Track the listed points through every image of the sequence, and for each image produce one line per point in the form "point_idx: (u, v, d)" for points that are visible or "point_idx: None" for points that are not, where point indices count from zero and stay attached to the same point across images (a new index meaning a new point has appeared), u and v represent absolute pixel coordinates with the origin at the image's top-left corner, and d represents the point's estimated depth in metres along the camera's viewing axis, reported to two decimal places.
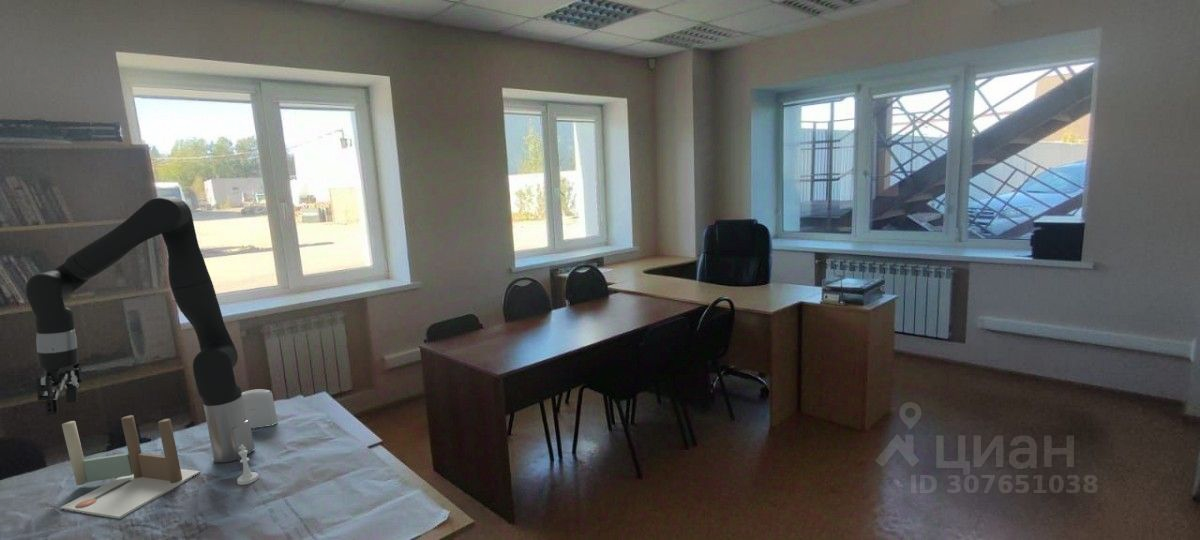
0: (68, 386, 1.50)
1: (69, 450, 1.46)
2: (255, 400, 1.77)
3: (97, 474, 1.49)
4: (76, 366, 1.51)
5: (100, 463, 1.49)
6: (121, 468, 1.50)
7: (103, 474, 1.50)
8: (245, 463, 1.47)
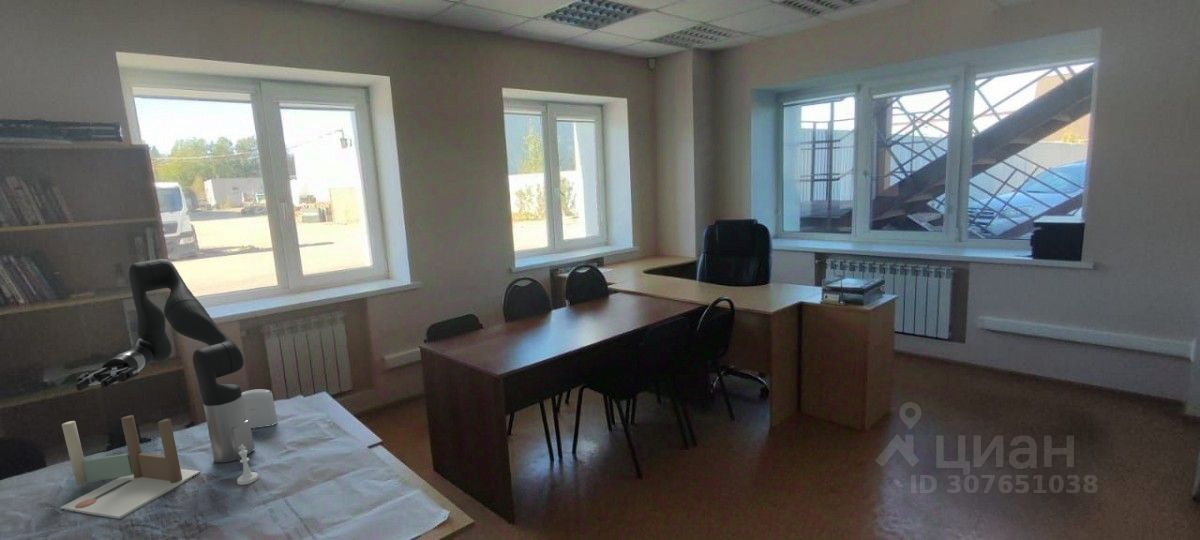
0: None
1: (69, 450, 1.46)
2: (255, 400, 1.77)
3: (97, 474, 1.49)
4: None
5: (100, 463, 1.49)
6: (121, 468, 1.50)
7: (103, 474, 1.50)
8: (245, 463, 1.47)
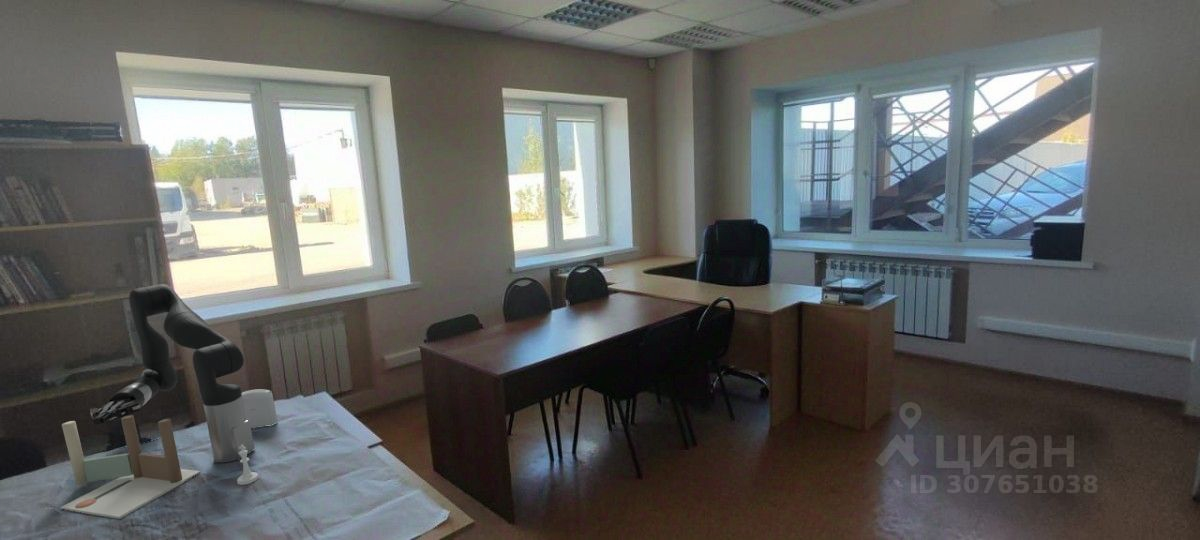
0: None
1: (69, 450, 1.46)
2: (255, 400, 1.77)
3: (97, 474, 1.49)
4: None
5: (100, 463, 1.49)
6: (121, 468, 1.50)
7: (103, 474, 1.50)
8: (245, 463, 1.47)
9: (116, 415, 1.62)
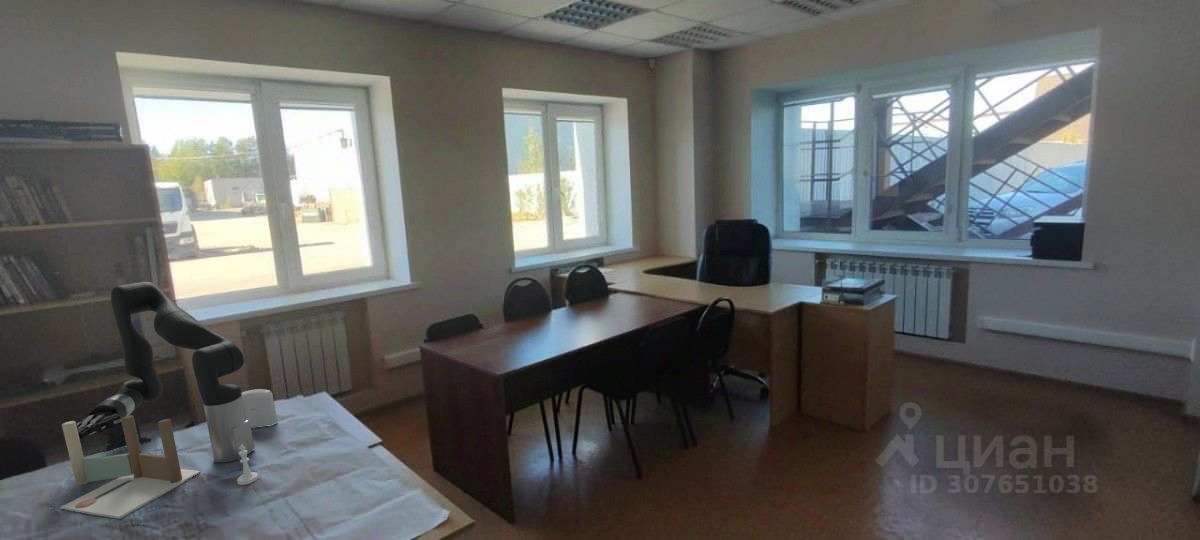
0: None
1: (69, 450, 1.46)
2: (255, 400, 1.77)
3: (97, 474, 1.49)
4: None
5: (100, 463, 1.49)
6: (121, 468, 1.50)
7: (103, 474, 1.50)
8: (245, 463, 1.47)
9: (96, 430, 1.53)
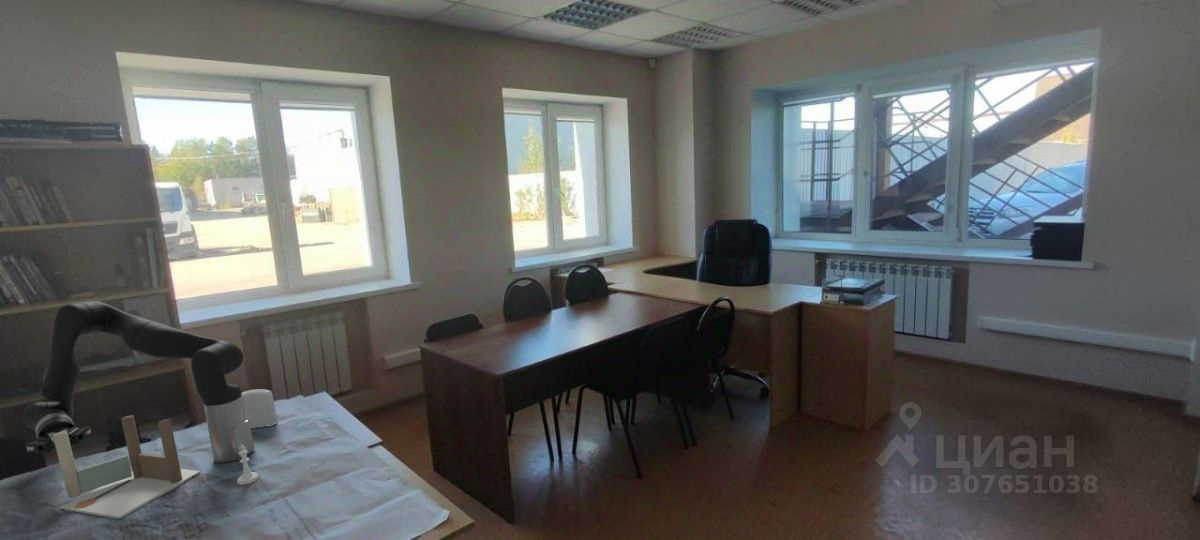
0: None
1: (64, 461, 1.40)
2: (255, 400, 1.77)
3: (93, 482, 1.45)
4: None
5: (97, 470, 1.45)
6: (121, 471, 1.49)
7: (100, 481, 1.46)
8: (245, 463, 1.47)
9: (74, 441, 1.46)
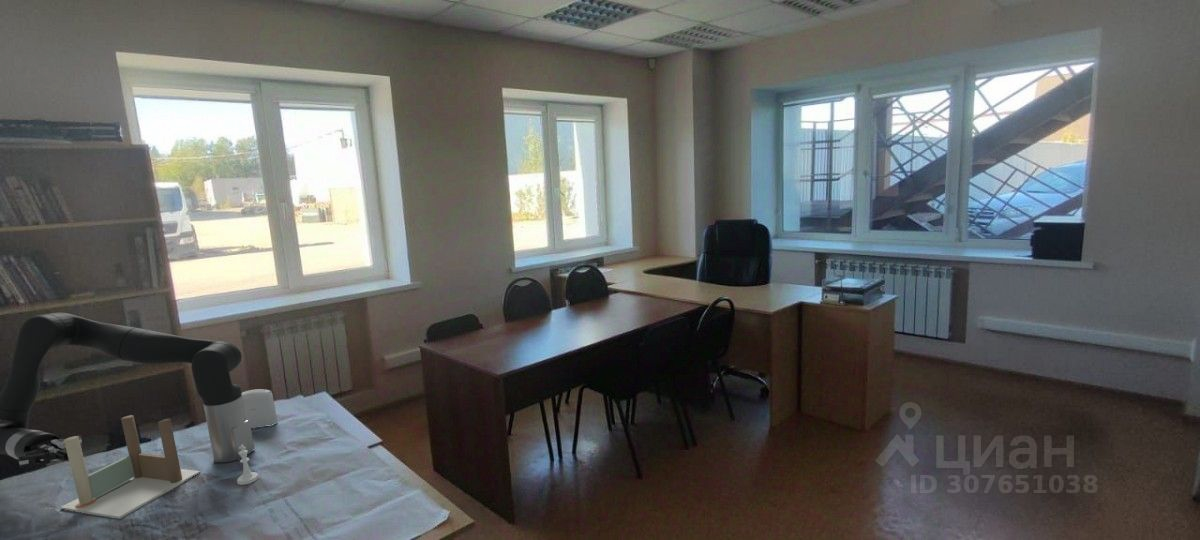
0: None
1: (79, 466, 1.37)
2: (255, 400, 1.77)
3: (103, 486, 1.43)
4: None
5: (105, 473, 1.44)
6: (125, 472, 1.48)
7: (108, 484, 1.44)
8: (245, 463, 1.47)
9: None
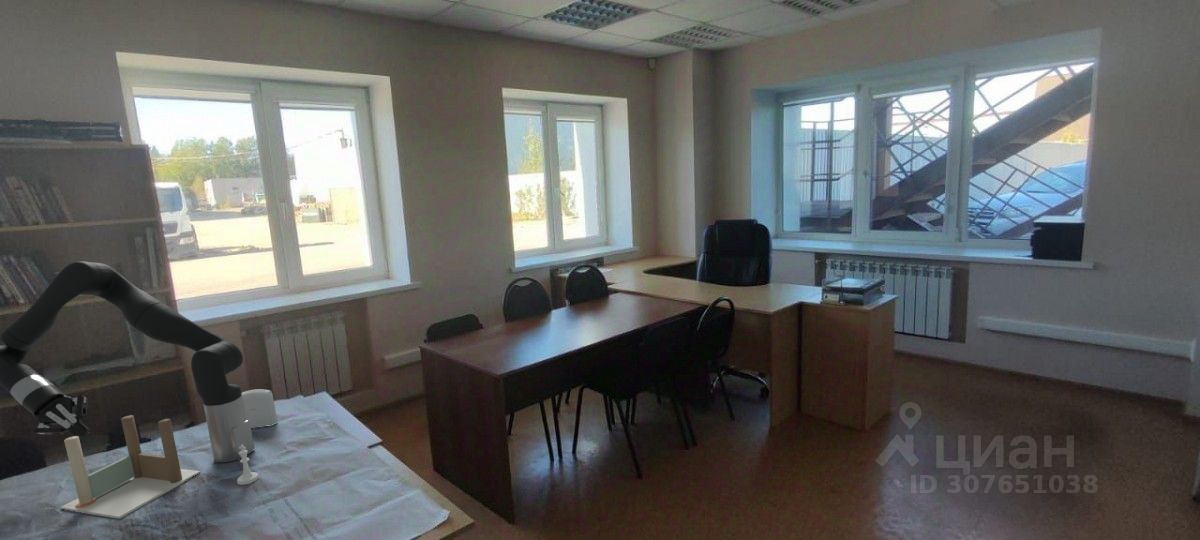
0: None
1: (79, 466, 1.37)
2: (255, 400, 1.77)
3: (103, 486, 1.43)
4: None
5: (105, 473, 1.44)
6: (125, 472, 1.48)
7: (109, 484, 1.44)
8: (245, 463, 1.47)
9: (83, 418, 1.52)
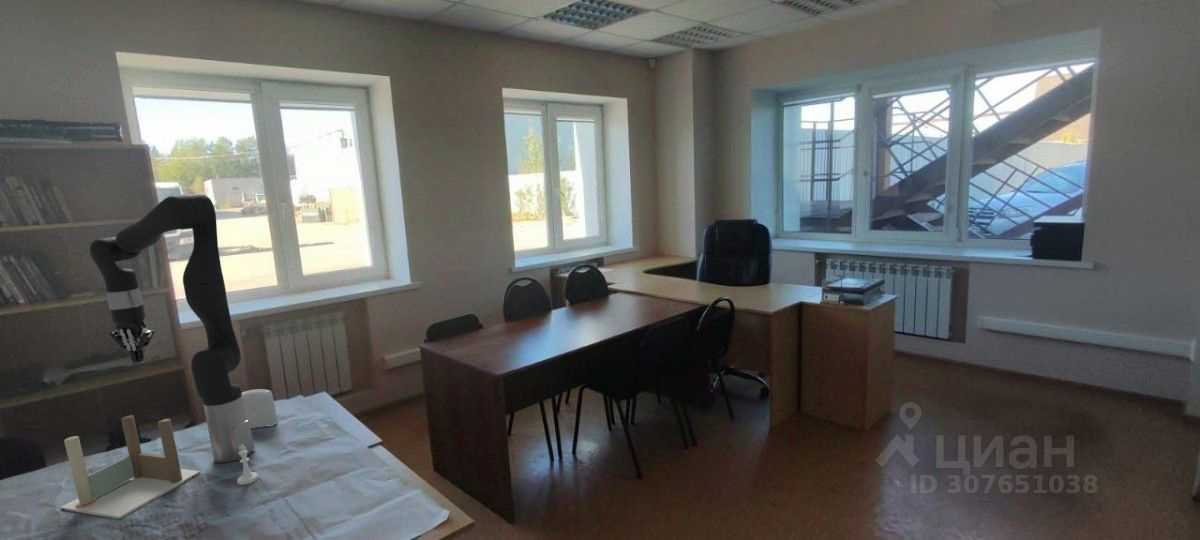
0: None
1: (79, 466, 1.37)
2: (255, 400, 1.77)
3: (103, 486, 1.43)
4: None
5: (105, 473, 1.44)
6: (125, 472, 1.48)
7: (109, 484, 1.44)
8: (245, 463, 1.47)
9: None
